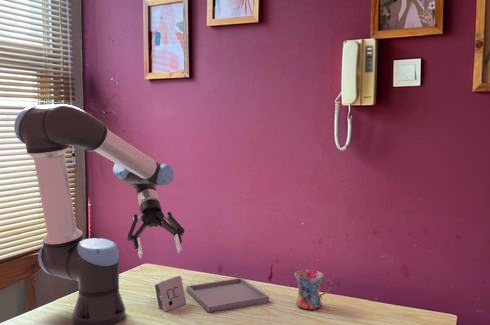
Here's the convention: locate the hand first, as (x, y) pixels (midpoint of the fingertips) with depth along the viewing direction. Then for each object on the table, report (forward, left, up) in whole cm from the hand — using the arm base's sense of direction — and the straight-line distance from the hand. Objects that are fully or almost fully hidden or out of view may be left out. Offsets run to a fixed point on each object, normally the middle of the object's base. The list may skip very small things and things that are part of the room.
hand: (160, 254), depth 155 cm
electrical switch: (0, -11, -15) cm, 18 cm away
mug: (+42, -31, -15) cm, 54 cm away
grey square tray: (+20, -11, -15) cm, 27 cm away
